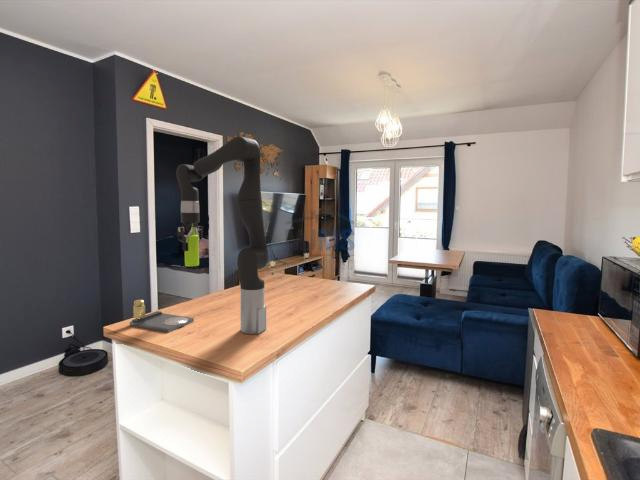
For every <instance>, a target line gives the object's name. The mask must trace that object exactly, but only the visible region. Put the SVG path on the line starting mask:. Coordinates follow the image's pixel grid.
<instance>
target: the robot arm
mask: <svg viewBox="0 0 640 480" xmlns="http://www.w3.org/2000/svg"><path fill="white" fill-rule="evenodd" d="M233 161H237V162H242V163H243V167H244V169H243V170H244V171H243V172H244V175H243V180H242V183H241V185H240V188H239V190H238V193H237V208H238V213H239V218H240V220H241V222H242V223H243V226H244V227H245V229H246V230H247V234H248V238H249V239H248V240H249V247H248V246H247V247H243V248H242V249H241V250H240V251H239V252H238V255H237V277H238V281H239V284H240V286H239V287H240V332H241V333H243V334H247V335H248V334H249V335H256V334H257V335H260V334H261V333H263V332H264V331H265V330H267V305H265V281H264V279H263V278H259V273H258V270H261V269H263V268H265V267H267V265H268V263H269V251H268V246H267V240H266V235H265V226H264V216H263V213H264V212H263V200H262V191H261V190H262V189H261V147H260V144H259V143H258V142H257V141H256V140H255V139H253V138H249V137H245V136H243V135H242V136H241V135H240V136H235V137H233V138H232V139H229V141H227V142H226V143H224V145H222V146H221V147H219V148H218V149H216V150H215V151H212V152H211V153H210V154H208V155H205V156H203V157H201V158H199V159H197V160H196V161H195V162H194V163H193V164H186V163H182V164H179V165H178V166H177V168H176V174H175V175H176V179H177V183H178V186H179V190H180V196H181V197H180V200H181V201H180V222H181V221H182V222H181V223H182V226H178V227H176V233H177V240H178V242H181V243H182V251H183V252H185V251H188V243H187V242H188V238H189V237H190V236H191V233H192V231H193V227H195V235H198V236H199V242H200V240H203V237H204V236H203V234H204V226H203V225H199V224H200V200H199V189H198V188H197V187H194V186H192V183H197V182H200V181H202V180H203V179H204V178H206V176H208V175H210V174H213V173H216V172H217V171H219V170H220V168H221V167H222V166H223V165H224V164H225V163H228V162H233ZM221 169H222V168H221ZM191 182H192V183H191ZM192 223H193V227H192ZM185 237H186V239H185Z"/></svg>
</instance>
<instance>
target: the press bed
mask: <svg viewBox="0 0 640 480" xmlns="http://www.w3.org/2000/svg"><path fill="white" fill-rule="evenodd" d="M194 319H195V318H194V317H189V316H182V315H176V314H171V313H170V314H169V313H163V312H162V311H159V310H156V311H154V312H151V313H149V314H145V317H144V318H141V319H136V318H133V319H131V321H129V326H131V327H137V328H142V329H146V330H153V331H156V332H157V331H159V332H164V333H170V332H174V331H175V330H177V329H179V328H182V327H185V326H187V325H189V324H191V323H194V321H195V320H194Z"/></svg>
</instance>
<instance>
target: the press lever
mask: <svg viewBox="0 0 640 480" xmlns="http://www.w3.org/2000/svg"><path fill="white" fill-rule="evenodd" d="M132 308H133V319H141V318H144V317H145V315H146V305H145V300H144V299H136V300H134V301H133V306H132Z"/></svg>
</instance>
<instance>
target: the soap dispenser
mask: <svg viewBox="0 0 640 480" xmlns="http://www.w3.org/2000/svg"><path fill="white" fill-rule="evenodd" d="M180 223H182V221H181V220H180ZM192 227H193V223H192ZM199 237H200V235H199V236H198V235H195V227H193V231H192V233H191V236H190V237H189V238H188V242H187V243H188V251H184V266H185V267H198V266H200V249H199V248H200V241H199ZM185 239H186V237H185Z"/></svg>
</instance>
